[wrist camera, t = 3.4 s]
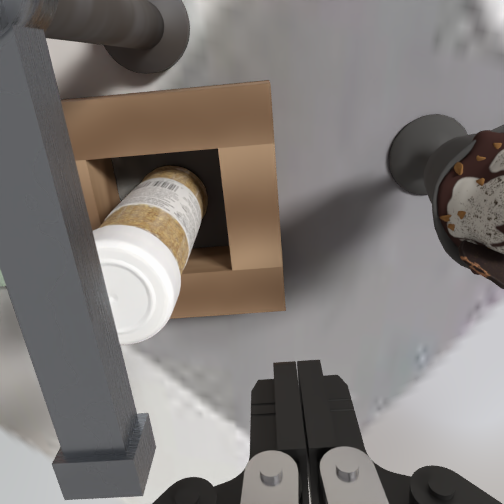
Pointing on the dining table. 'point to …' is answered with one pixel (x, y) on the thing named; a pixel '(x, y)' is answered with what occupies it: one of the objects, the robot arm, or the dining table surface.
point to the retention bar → (61, 274)
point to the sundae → (457, 187)
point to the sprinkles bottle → (149, 249)
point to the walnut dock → (181, 148)
